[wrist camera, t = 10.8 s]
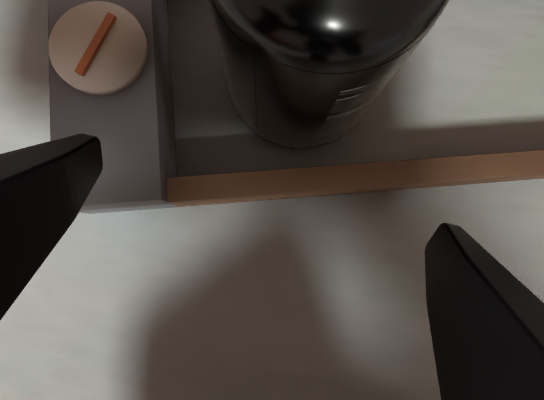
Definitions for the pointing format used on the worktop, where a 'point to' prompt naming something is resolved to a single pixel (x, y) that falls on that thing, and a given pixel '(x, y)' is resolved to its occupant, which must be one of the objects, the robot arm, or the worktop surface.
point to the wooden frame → (160, 123)
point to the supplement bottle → (314, 60)
